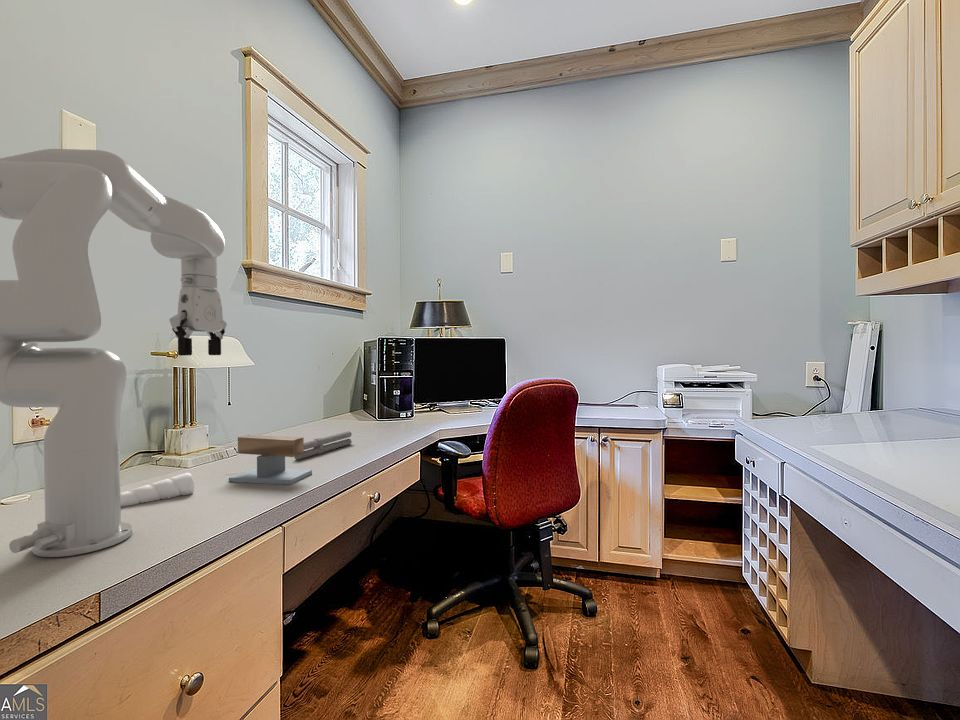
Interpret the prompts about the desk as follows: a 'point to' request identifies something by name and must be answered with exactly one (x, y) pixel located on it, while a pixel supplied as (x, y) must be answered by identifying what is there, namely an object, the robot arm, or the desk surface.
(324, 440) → the metal rod assembly
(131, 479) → the desk surface
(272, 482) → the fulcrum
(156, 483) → the unicorn horn
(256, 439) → the walnut bar
